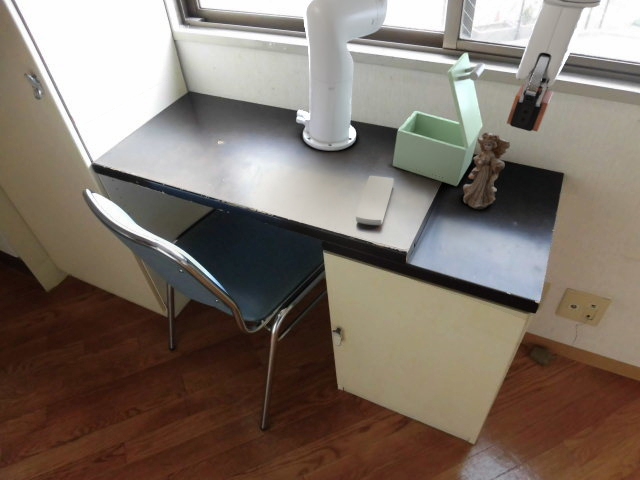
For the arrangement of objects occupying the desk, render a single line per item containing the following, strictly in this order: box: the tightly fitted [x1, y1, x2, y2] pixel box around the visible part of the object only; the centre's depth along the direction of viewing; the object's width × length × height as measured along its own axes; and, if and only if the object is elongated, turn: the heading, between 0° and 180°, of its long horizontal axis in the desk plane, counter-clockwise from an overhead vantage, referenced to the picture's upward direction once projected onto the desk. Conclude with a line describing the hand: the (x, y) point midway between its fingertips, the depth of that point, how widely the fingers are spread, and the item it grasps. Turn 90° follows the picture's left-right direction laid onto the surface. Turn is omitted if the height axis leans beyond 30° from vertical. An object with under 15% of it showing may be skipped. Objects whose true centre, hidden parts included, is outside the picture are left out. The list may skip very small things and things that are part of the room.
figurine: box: [462, 131, 511, 210], centre depth 91 cm, size 7×6×15 cm
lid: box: [446, 52, 486, 148], centre depth 91 cm, size 15×10×4 cm
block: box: [506, 83, 554, 132], centre depth 69 cm, size 4×4×4 cm
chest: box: [392, 110, 480, 187], centre depth 102 cm, size 15×10×9 cm
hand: (525, 118), depth 70 cm, fingers closed on block, 4 cm apart
